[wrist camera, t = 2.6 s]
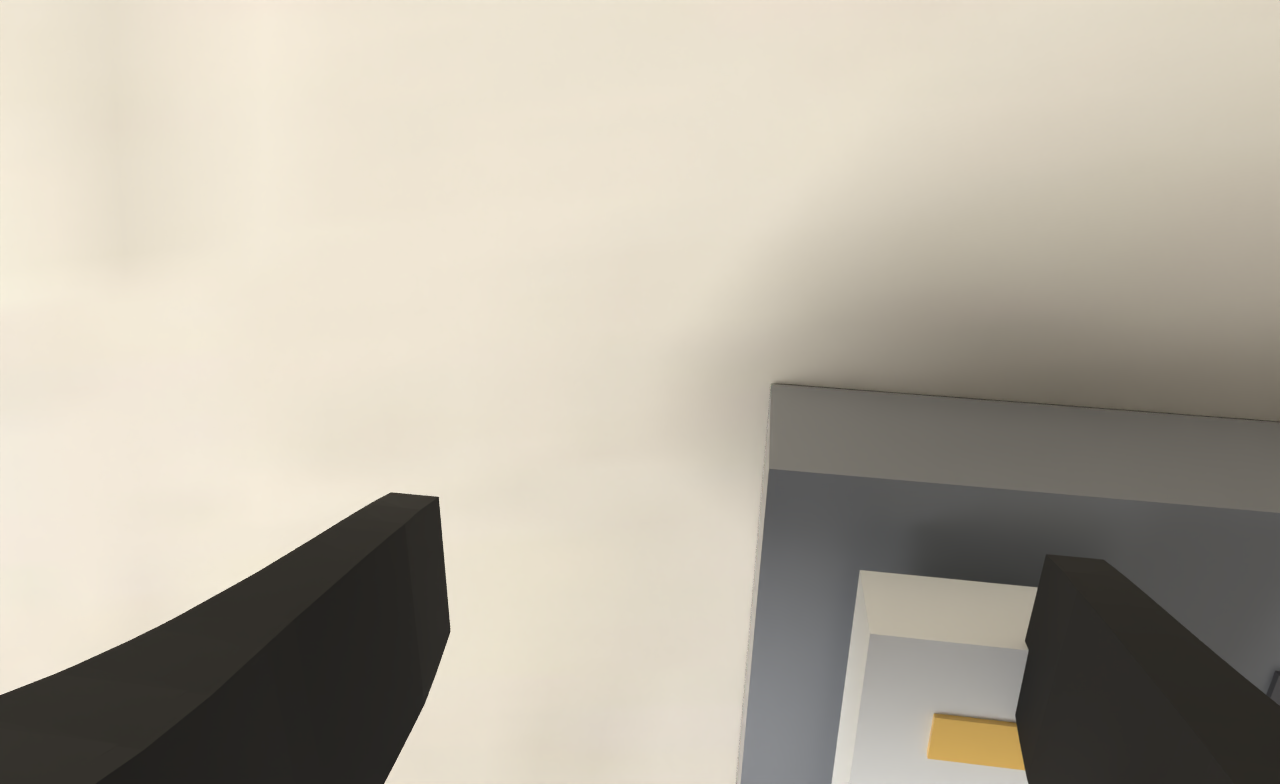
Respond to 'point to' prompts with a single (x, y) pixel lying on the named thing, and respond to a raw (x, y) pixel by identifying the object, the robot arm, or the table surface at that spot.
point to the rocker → (933, 682)
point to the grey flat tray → (991, 532)
